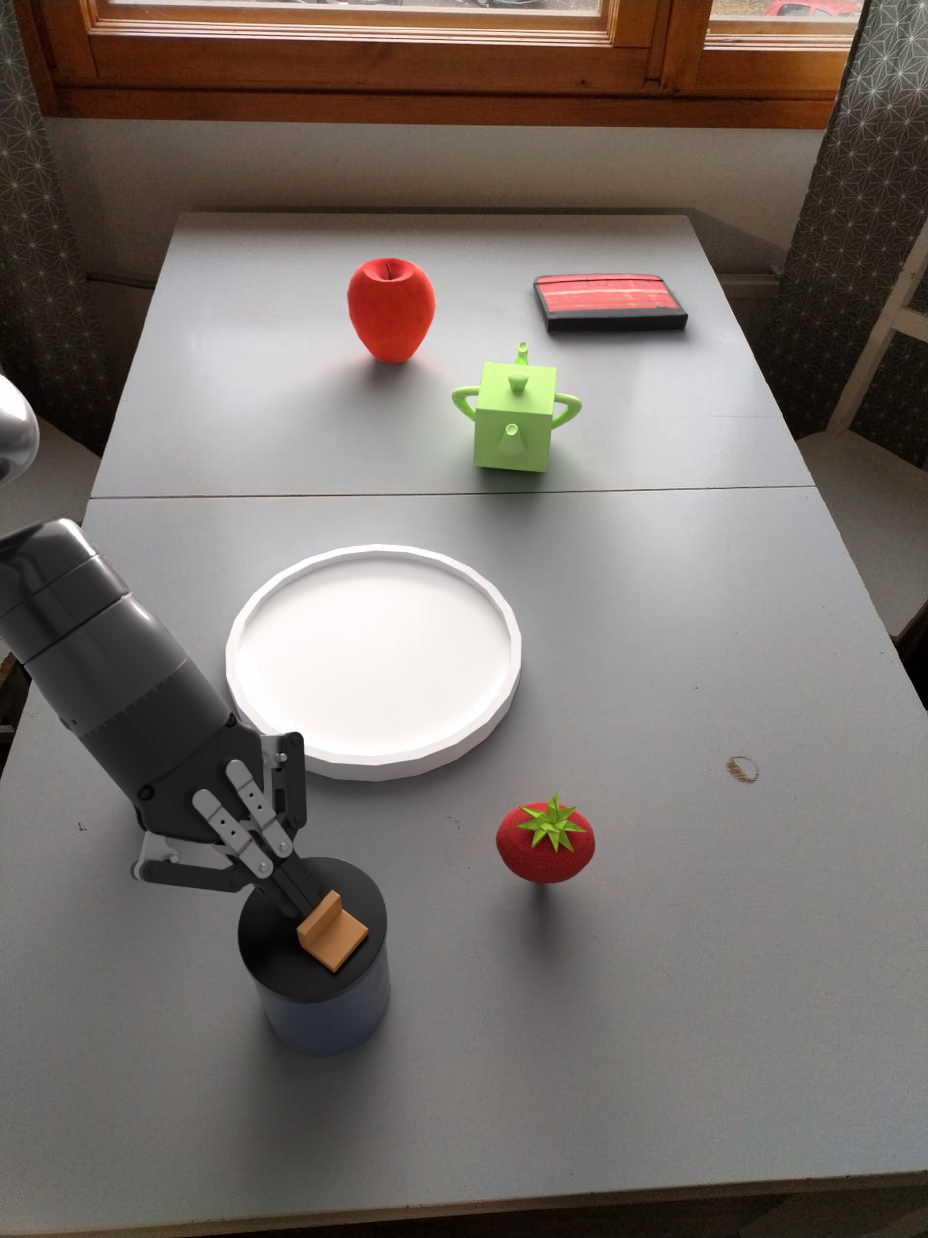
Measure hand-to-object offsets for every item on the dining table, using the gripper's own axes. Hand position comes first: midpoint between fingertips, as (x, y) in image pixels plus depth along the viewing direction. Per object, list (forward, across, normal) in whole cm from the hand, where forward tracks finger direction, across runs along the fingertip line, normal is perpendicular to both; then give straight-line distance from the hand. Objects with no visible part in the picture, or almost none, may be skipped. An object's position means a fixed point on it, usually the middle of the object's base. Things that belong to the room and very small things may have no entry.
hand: (308, 909), depth 55 cm
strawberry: (+14, +17, +4) cm, 23 cm away
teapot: (-10, +63, +28) cm, 69 cm away
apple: (-28, +71, +46) cm, 89 cm away
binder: (-17, +103, +35) cm, 110 cm away
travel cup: (+9, 0, +9) cm, 13 cm away
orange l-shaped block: (+3, 0, 0) cm, 3 cm away
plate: (-3, +26, +22) cm, 34 cm away
